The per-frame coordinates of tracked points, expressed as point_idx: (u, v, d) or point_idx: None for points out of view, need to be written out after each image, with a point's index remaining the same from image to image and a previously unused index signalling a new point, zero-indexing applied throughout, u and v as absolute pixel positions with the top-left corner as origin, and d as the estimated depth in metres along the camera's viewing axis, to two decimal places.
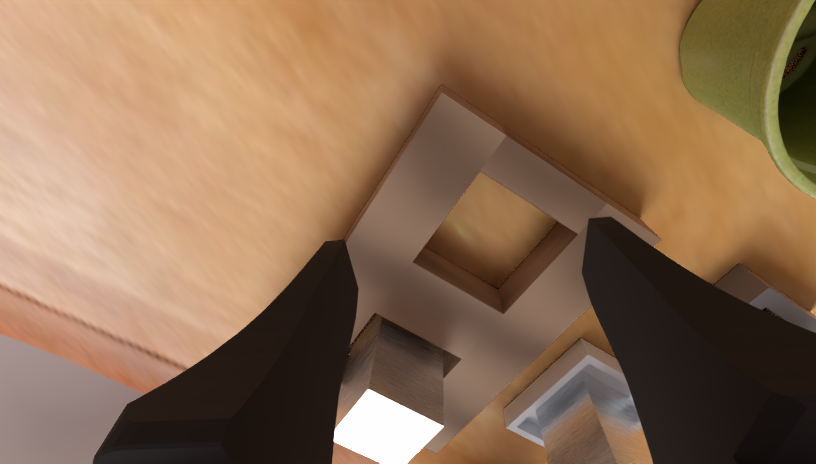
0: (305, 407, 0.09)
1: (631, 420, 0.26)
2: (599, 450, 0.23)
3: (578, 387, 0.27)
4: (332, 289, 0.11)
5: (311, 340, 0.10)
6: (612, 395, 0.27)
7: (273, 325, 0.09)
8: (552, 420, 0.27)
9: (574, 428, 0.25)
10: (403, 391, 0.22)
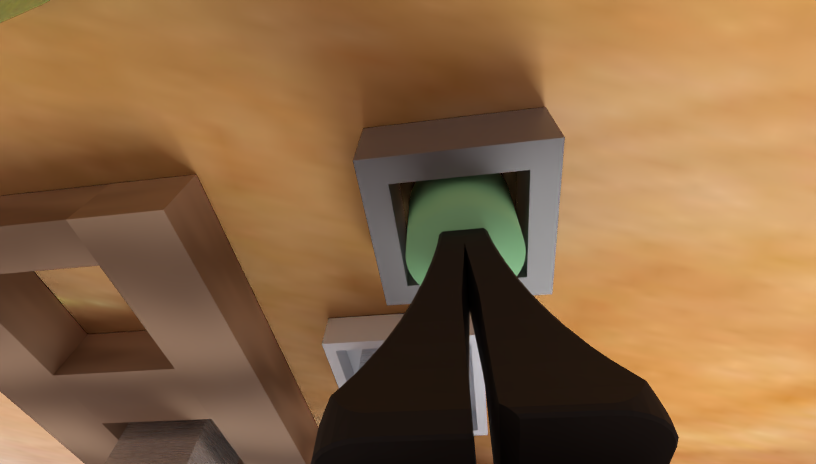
0: (470, 400, 0.09)
1: None
2: None
3: None
4: (464, 279, 0.11)
5: (464, 331, 0.09)
6: None
7: (435, 314, 0.09)
8: None
9: None
10: None
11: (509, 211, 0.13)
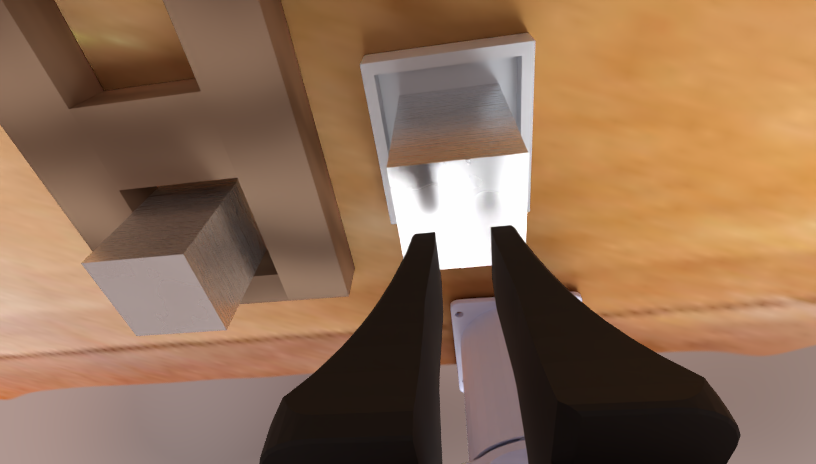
0: (431, 402, 0.09)
1: (478, 104, 0.17)
2: None
3: None
4: (433, 281, 0.11)
5: (428, 333, 0.09)
6: (456, 94, 0.18)
7: (397, 317, 0.09)
8: None
9: None
10: (136, 246, 0.18)
11: None
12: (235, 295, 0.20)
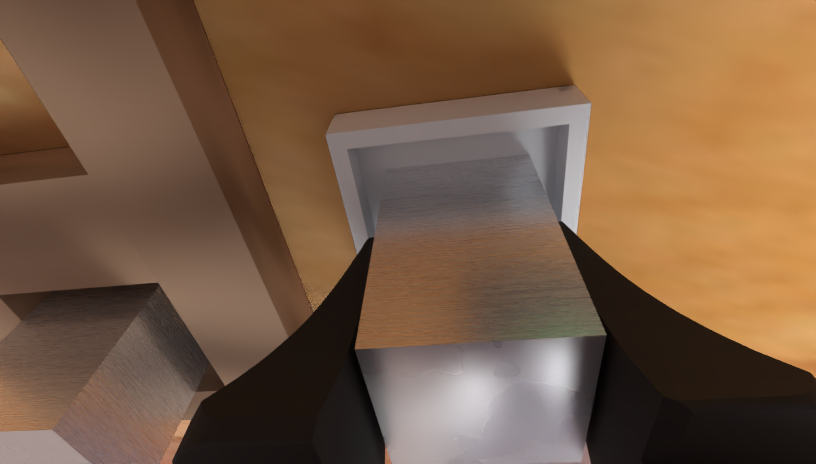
0: (365, 404, 0.09)
1: (502, 198, 0.11)
2: None
3: None
4: None
5: None
6: (468, 173, 0.12)
7: (333, 321, 0.09)
8: None
9: None
10: None
11: None
12: (157, 444, 0.14)
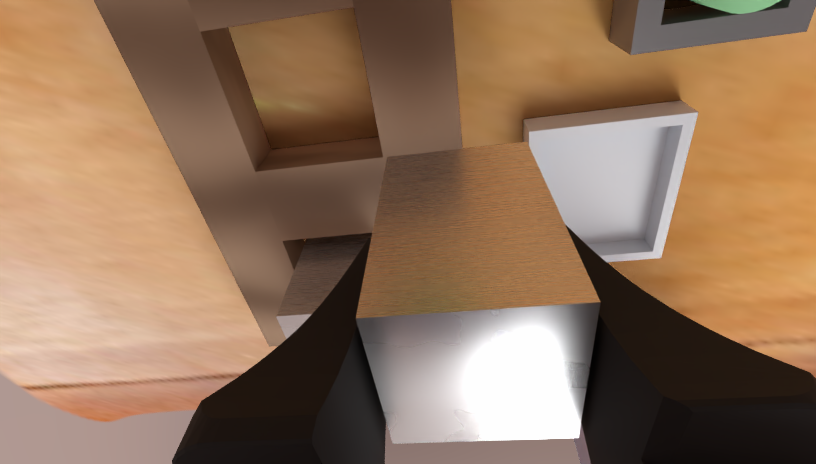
0: (365, 404, 0.09)
1: (501, 181, 0.11)
2: None
3: None
4: None
5: None
6: (467, 159, 0.13)
7: (332, 321, 0.09)
8: None
9: None
10: (322, 299, 0.19)
11: None
12: None
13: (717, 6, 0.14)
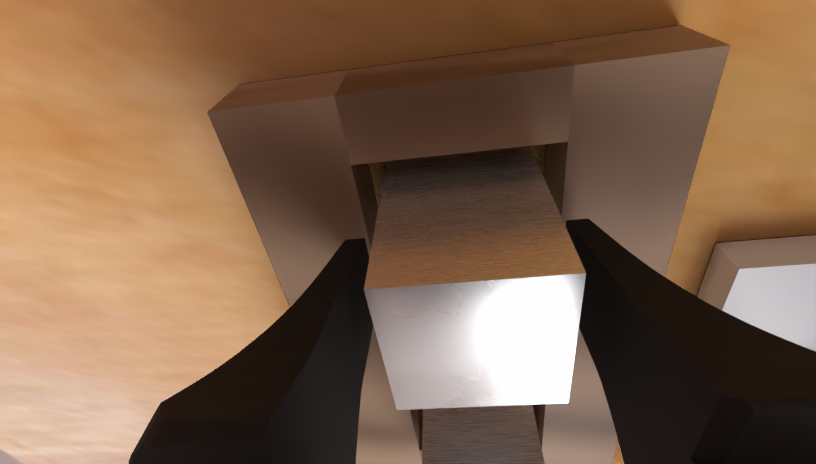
0: (332, 406, 0.09)
1: (497, 167, 0.12)
2: None
3: None
4: (354, 287, 0.11)
5: (337, 338, 0.10)
6: None
7: (300, 323, 0.09)
8: None
9: None
10: None
11: None
12: None
13: None
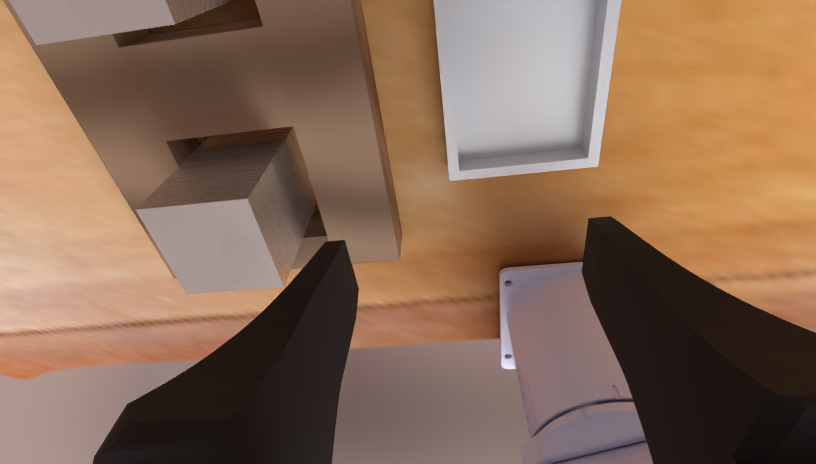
0: (305, 407, 0.09)
1: None
2: None
3: None
4: (332, 289, 0.11)
5: (311, 340, 0.10)
6: None
7: (273, 325, 0.09)
8: None
9: None
10: (193, 193, 0.16)
11: None
12: (290, 252, 0.19)
13: None
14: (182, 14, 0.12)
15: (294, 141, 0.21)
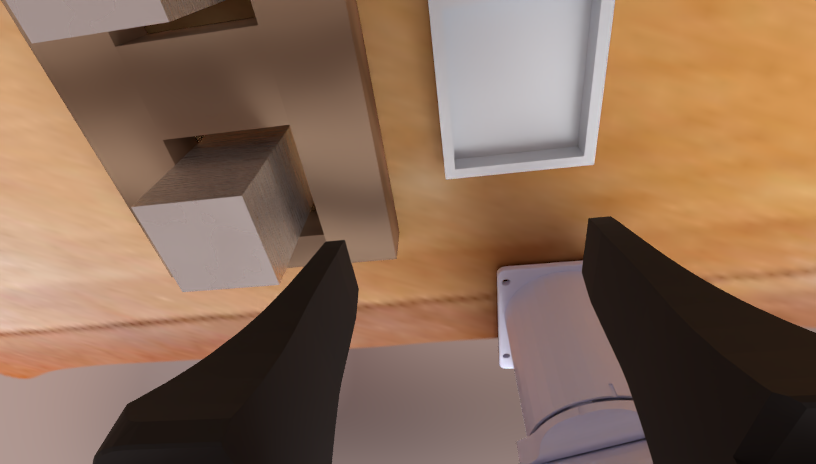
0: (305, 407, 0.09)
1: None
2: None
3: None
4: (332, 289, 0.11)
5: (311, 340, 0.10)
6: None
7: (273, 325, 0.09)
8: None
9: None
10: (188, 190, 0.16)
11: None
12: (286, 250, 0.19)
13: None
14: (176, 12, 0.13)
15: (291, 140, 0.21)
